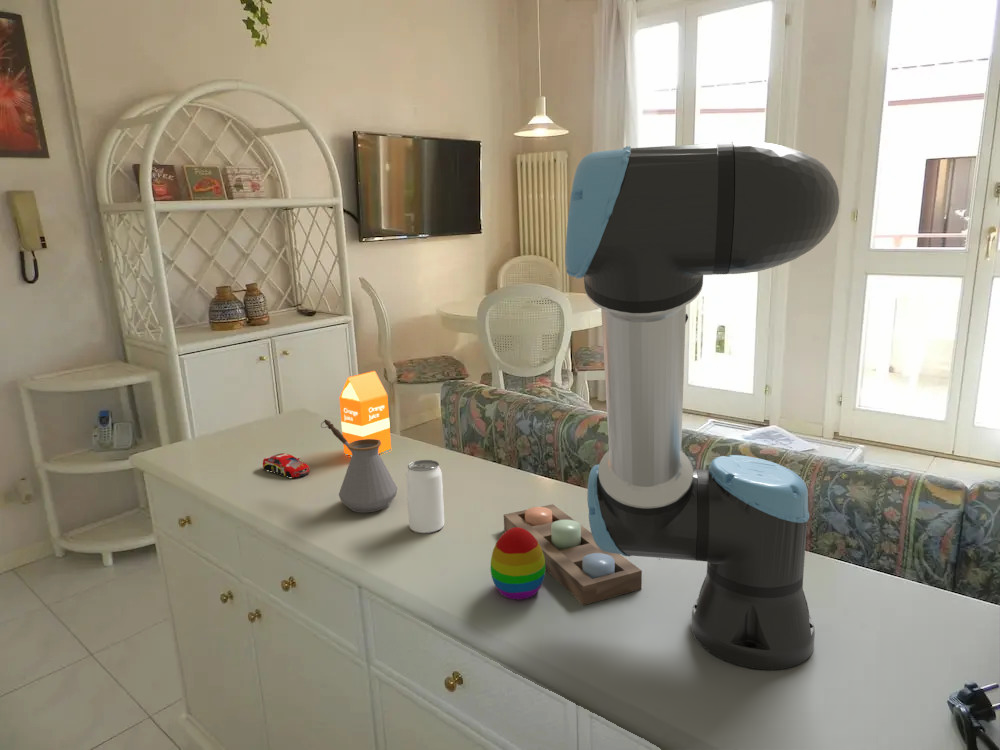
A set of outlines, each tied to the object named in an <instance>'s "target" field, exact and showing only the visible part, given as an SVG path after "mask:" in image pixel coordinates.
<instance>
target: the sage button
mask: <svg viewBox="0 0 1000 750" xmlns="http://www.w3.org/2000/svg"><path fill="white" fill-rule="evenodd" d="M573 520H574V519H573ZM573 520H558V521H555V522H553V523H552V525H551V540H552V545H553V546H554V547H556V548H557V549H558V550H559V551H560V550H564V549H568V548H572V547H576V546H580V545H581V526H582V525H581V523H580V522H578V521H576V520H575V521H573Z"/></svg>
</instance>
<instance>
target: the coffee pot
mask: <svg viewBox="0 0 1000 750" xmlns="http://www.w3.org/2000/svg"><path fill="white" fill-rule="evenodd" d="M323 424H325V425H326V426H323ZM320 427H321V428H322V429H326V428H327V429H329V430H331V432H332V434H333V435H334V436H335V437H336V438H337V439H338V440H339V441H340V442H341V443H343V444H345V445H346V446H347V447H348V449H349V450H350V451H351V452H352V457H350V461H349V464H348V466H347V469H346V471H345V472H346V473H345V475H344V477H343V480H342V484H341V486H340V490H339V493H338V496H339V499H340V501H341V502H342V504H344V505H345V506H346V507H347V508H349V509H350V510H351V511H353V512H356V513H372V512H377V511H380V510H383V509H385V508H387V507H388V506H389V504H390V503H392V501H393V500H394V499H395V497H396V495H397V492H398V486H397V485H396V482H395V481H394V479H393V477H392V475H391V474H390V471H389V470H388V467H387V466H386V464H385V462H384V461H383V459H382V457H381V455H379V453H378V450H379V446H380V445H381V441H380V440H377V439H362V440H357V441H353V442H351V443H348V441H347V440H346V439H345V438H344V436H343V433H341V431H340V430H339V429H337V428H336V427H335V426H334V424H333V423H331V420H328V419H324V420H323V421H322V422H321V423H320Z"/></svg>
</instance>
